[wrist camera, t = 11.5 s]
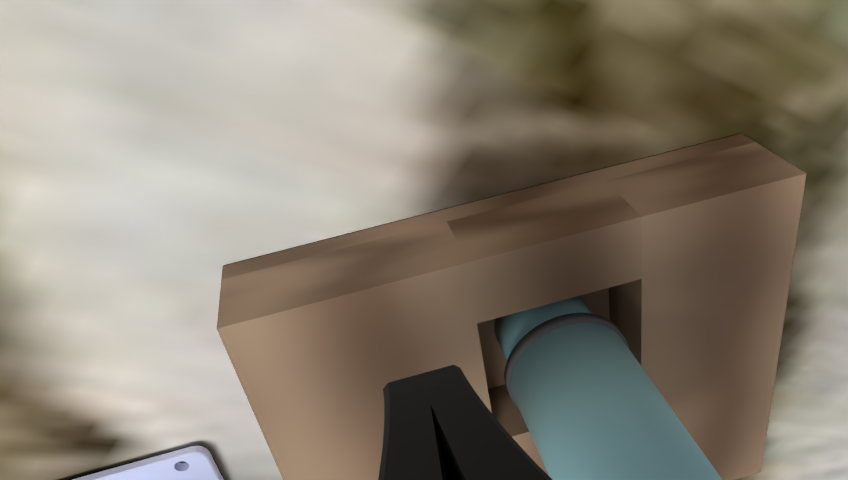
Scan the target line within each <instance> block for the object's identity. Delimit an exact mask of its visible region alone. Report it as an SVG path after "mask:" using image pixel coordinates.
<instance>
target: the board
mask: <svg viewBox="0 0 848 480" xmlns="http://www.w3.org/2000/svg"><path fill="white" fill-rule="evenodd" d="M805 180H806V173H805V172H803V171H802V170H800V169H798V168H797V167H795V166H794V165H792V164H790V163H789V162H787V161H785V160H784V159H782V158H780V157H779V156H777V155H776V154H774V153H772V152H771V151H769V150H767V149H766V148H764V147H762V146H761V145H759V144H758V143H756V142H754V141H753V140H751V139H749V138H748V137H746V136H745V135H743V134H737V135H733V136H729V137H725V138H721V139H717V140H713V141H709V142H705V143H702V144H698V145H694V146H690V147H686V148H682V149H678V150H674V151H670V152H666V153H662V154H659V155H655V156H651V157H647V158H643V159H639V160H635V161H631V162H627V163H623V164H619V165H616V166H612V167H608V168H604V169H600V170H596V171H592V172H588V173H584V174H580V175H576V176H573V177H569V178H565V179H561V180H557V181H553V182H549V183H545V184H541V185H537V186H533V187H530V188H526V189H522V190H518V191H514V192H510V193H506V194H502V195H498V196H494V197H490V198H487V199H483V200H479V201H475V202H471V203H467V204H463V205H459V206H455V207H451V208H447V209H444V210H440V211H436V212H432V213H428V214H424V215H420V216H416V217H412V218H408V219H404V220H401V221H397V222H393V223H389V224H385V225H381V226H377V227H373V228H369V229H365V230H361V231H358V232H354V233H350V234H346V235H342V236H338V237H334V238H330V239H326V240H322V241H318V242H315V243H311V244H307V245H303V246H299V247H295V248H291V249H287V250H283V251H279V252H275V253H272V254H268V255H264V256H260V257H256V258H252V259H248V260H244V261H240V262H236V263H232V264H229V265H225V266H223V270H222V280H221V291H220V301H219V312H218V322H217V330H218V332H219V335H220V337H221V339H222V342H223V344H224V346H225V348H226V351H227V353H228V355H229V357H230V360H231V362H232V364H233V366H234V369H235V371H236V373H237V376H238V378H239V380H240V382H241V385H242V387H243V389H244V391H245V394H246V396H247V398H248V401H249V403H250V405H251V407H252V410H253V412H254V414H255V416H256V419H257V421H258V423H259V426H260V428H261V430H262V432H263V435H264V437H265V439H266V441H267V444H268V446H269V448H270V450H271V453H272V455H273V457H274V460H275V462H276V464H277V466H278V469H279V471H280V473H281V475H282V478H283V480H378V478H379V470H380V463H381V455H382V447H383V434H384V395H383V388H384V387H385V386H386V384H387V383H389V382H392V381H396V380H400V379H403V378H407V377H410V376H414V375H418V374H421V373H425V372H429V371H432V370H436V369H439V368H443V367H447V366H450V365H456V366H458V367H460V368H461V370H462V372H463V373H464V375H465V377H466V378H467V380H468V381H469V383H470V385H471V386H472V388H473V389H474V390H475V392H476V393H477V395H478V396H479V397H480V399H481V400H482V401H483V403H484V404H485V405H486V407H487V408H488V409H489V410H490V412H491V413H492V414H493V416H494V417H495V418H496V419H497V420H498V422H499V423H500V424H501V425H502V426H503V428H504V429H505V430H506V431H507V432H508V433H509V434H510V435H511V436H512V438H513V439H514V440H515V441H516V442H517V443H518V444H519V445H520V447H521V448H522V449H523V450H524V451H525V452H526V453H527V454H528V455H529V456H530V457H531V458H532V459H533V460H534V462H535V463H536V464H537V465H538V466H539V467H540V468H541V469H542V470H543V471H544V472H545V473H546V474H547V475H548V473H547V470H546V468H545V466H544V464H543V461H542V459H541V457H540V455H539V452H538V450H537V448H536V446H535V443H534V441H533V439H532V437H531V435H530V432H529V430H528V428H527V426H526V423H525V421H524V419H523V417H522V414H521V412H520V410H519V408H518V407H517V406H516V405H515V404H514V402H513V401H512V399H511V397H510V395H509V393H508V390H507V388H506V385H505V380H504V371H505V366H506V362H507V360H506V357H505V355H504V353H503V351H502V349H501V347H500V345H499V342H498V340H497V338H496V335H495V331H494V321H495V318H499V317H503V316H507V315H510V314H514V313H518V312H521V311H525V310H529V309H532V308H536V307H540V306H543V305H547V304H551V303H554V302H558V301H562V300H565V299H569V298H573V297H577V296H581V297H582V298H583V300H584V301H585V303H586V304H587V306H588V307H589V309H590V310H591V311H592V313H593V314H596V315H600V316H602V317H605V318H607V319H608V320H610V321H611V322H613V323H614V324H615V325H616V326H617V328H618V329H619V330H620V332H621V333H622V334H623V336H624V337H625V339H626V341H627V343H628V346H629V350H630V351H631V352H632V354H633V355H634V357H635V358H636V359H637V361H638V362H639V364H640V365H641V366H642V368H643V369H644V371H645V372H646V373H647V375H648V376H649V378H650V379H651V380H652V382H653V383H654V385H655V386H656V387H657V389H658V390H659V392H660V393H661V394H662V396H663V397H664V399H665V400H666V401H667V403H668V404H669V406H670V407H671V408H672V410H673V411H674V413H675V414H676V415H677V417H678V418H679V420H680V421H681V422H682V424H683V425H684V427H685V428H686V429H687V431H688V432H689V434H690V435H691V436H692V438H693V439H694V441H695V442H696V443H697V445H698V446H699V448H700V449H701V450H702V452H703V453H704V455H705V456H706V457H707V459H708V460H709V462H710V463H711V464H712V466H713V467H714V469H715V470H716V471H717V473H718V474H719V476H720V477H721V478H722V480H736V479H739V478H742V477H746V476H749V475H752V474H756V473H759V472H761V468H762V461H763V455H764V448H765V442H766V435H767V429H768V422H769V416H770V409H771V402H772V396H773V389H774V383H775V376H776V370H777V363H778V357H779V350H780V344H781V337H782V330H783V324H784V317H785V311H786V304H787V298H788V291H789V285H790V278H791V272H792V265H793V258H794V252H795V245H796V239H797V232H798V226H799V219H800V213H801V206H802V200H803V193H804V186H805ZM548 476H549V475H548Z"/></svg>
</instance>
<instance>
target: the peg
mask: <svg viewBox="0 0 848 480" xmlns="http://www.w3.org/2000/svg"><path fill="white" fill-rule="evenodd" d="M494 331H495V335H496V338H497V340H498V342H499V345H500V347H501V349H502V351H503V353H504V355H505V357H506V360H507V362H506V366H505V371H504V380H505V385H506V388H507V390H508V393H509V395H510V397H511V399H512V401H513V402H514V404H515V405H516V406H517V407H518V408H519V410H520V412H521V414H522V417H523V419H524V421H525V423H526V426H527V428H528V430H529V432H530V435H531V437H532V439H533V441H534V443H535V446H536V448H537V450H538V452H539V455H540V457H541V459H542V461H543V464H544V466H545V468H546V470H547V473H548V475H549V477H550V478H551V479H552V480H722V478H721V477H720V476H719V474H718V473H717V471H716V470H715V469H714V467H713V466H712V464H711V463H710V462H709V460H708V459H707V457H706V456H705V455H704V453H703V452H702V450H701V449H700V448H699V446H698V445H697V443H696V442H695V441H694V439H693V438H692V436H691V435H690V434H689V432H688V431H687V429H686V428H685V427H684V425H683V424H682V422H681V421H680V420H679V418H678V417H677V415H676V414H675V413H674V411H673V410H672V408H671V407H670V406H669V404H668V403H667V401H666V400H665V399H664V397H663V396H662V394H661V393H660V392H659V390H658V389H657V387H656V386H655V385H654V383H653V382H652V380H651V379H650V378H649V376H648V375H647V373H646V372H645V371H644V369H643V368H642V366H641V365H640V364H639V362H638V361H637V359H636V358H635V357H634V355H633V354H632V352H631V351H630V350H629V346H628V343H627V341H626V339H625V337H624V336H623V334H622V333H621V332H620V330H619V329H618V328H617V326H616V325H615V324H614V323H613V322H611V321H610V320H608V319H607V318H605V317H602V316H600V315H596V314H593V313H592V311H591V310H590V309H589V307H588V306H587V304H586V303H585V301H584V300H583V298H582V297H581V296H577V297H573V298H569V299H565V300H562V301H558V302H554V303H551V304H547V305H543V306H540V307H536V308H532V309H529V310H525V311H521V312H518V313H514V314H510V315H507V316H503V317H499V318H495V321H494Z"/></svg>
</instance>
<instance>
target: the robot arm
mask: <svg viewBox="0 0 848 480" xmlns="http://www.w3.org/2000/svg"><path fill="white" fill-rule="evenodd" d="M383 395H384V434H383V447H382V455H381V463H380V470H379V478H378V480H552V479H551V478H550V477H549V476H548V475H547V474H546V473H545V472H544V471H543V470H542V469H541V468H540V467H539V466H538V465H537V464H536V463H535V462H534V460H533V459H532V458H531V457H530V456H529V455H528V454H527V453H526V452H525V451H524V450H523V449H522V448H521V447H520V445H519V444H518V443H517V442H516V441H515V440H514V439H513V438H512V436H511V435H510V434H509V433H508V432H507V431H506V430H505V429H504V428H503V426H502V425H501V424H500V423H499V422H498V420H497V419H496V418H495V417H494V416H493V414H492V413H491V412H490V410H489V409H488V408H487V407H486V405H485V404H484V403H483V401H482V400H481V399H480V397H479V396H478V395H477V393H476V392H475V390H474V389H473V388H472V386H471V385H470V383H469V381H468V380H467V378H466V377H465V375H464V373H463V372H462V370H461V368H460V367H458V366H456V365H450V366H447V367H443V368H439V369H436V370H432V371H429V372H425V373H421V374H418V375H414V376H410V377H407V378H403V379H400V380H396V381H392V382H389V383H387V384H386V386H385V387H384V388H383ZM180 461H184V462H186V463H179V462H180ZM72 480H224V479H223V477H222V475H221V474H220V472H219V470H218V468H217V466H216V464H215V462H214V460H213V458H212V456H211V454H210V452H209V451H208V450H207V449H206V448H204V447H202V446H191V447H187V448H184V449H180V450H177V451H173V452H169V453H166V454H162V455H159V456H155V457H151V458H148V459H144V460H141V461H137V462H133V463H130V464H126V465H122V466H119V467H115V468H112V469H108V470H104V471H101V472H97V473H94V474H90V475H86V476H83V477H79V478H76V479H72Z"/></svg>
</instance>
